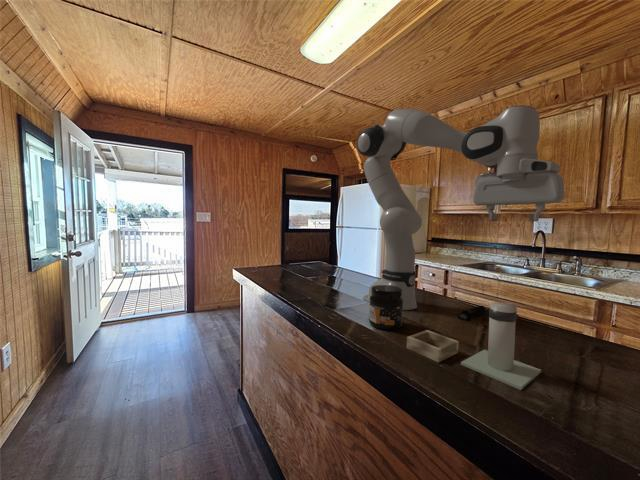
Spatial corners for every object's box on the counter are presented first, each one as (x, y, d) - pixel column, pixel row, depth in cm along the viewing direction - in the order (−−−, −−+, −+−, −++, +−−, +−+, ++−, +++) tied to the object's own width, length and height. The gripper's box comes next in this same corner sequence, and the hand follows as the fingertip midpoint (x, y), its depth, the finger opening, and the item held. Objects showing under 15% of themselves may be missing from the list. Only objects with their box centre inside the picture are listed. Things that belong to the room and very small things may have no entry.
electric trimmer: (487, 314, 104) (488, 306, 104) (468, 322, 95) (468, 313, 95) (477, 312, 107) (477, 304, 107) (457, 319, 98) (457, 310, 98)
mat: (460, 364, 65) (460, 362, 65) (484, 351, 72) (484, 349, 72) (520, 390, 55) (521, 387, 55) (541, 372, 62) (541, 369, 62)
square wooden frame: (406, 348, 73) (407, 336, 73) (426, 340, 78) (426, 329, 78) (438, 362, 66) (439, 350, 66) (458, 352, 71) (458, 341, 71)
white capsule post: (483, 364, 64) (485, 304, 64) (492, 358, 67) (494, 301, 67) (508, 373, 60) (511, 309, 60) (517, 366, 63) (520, 306, 63)
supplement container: (364, 327, 87) (365, 289, 87) (373, 317, 97) (374, 283, 96) (398, 333, 83) (400, 294, 82) (404, 322, 92) (406, 287, 91)
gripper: (470, 172, 81) (467, 220, 82) (561, 161, 64) (556, 221, 65) (480, 175, 85) (477, 221, 85) (568, 165, 68) (564, 222, 69)
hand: (512, 221), depth 75 cm, fingers open, 8 cm apart
